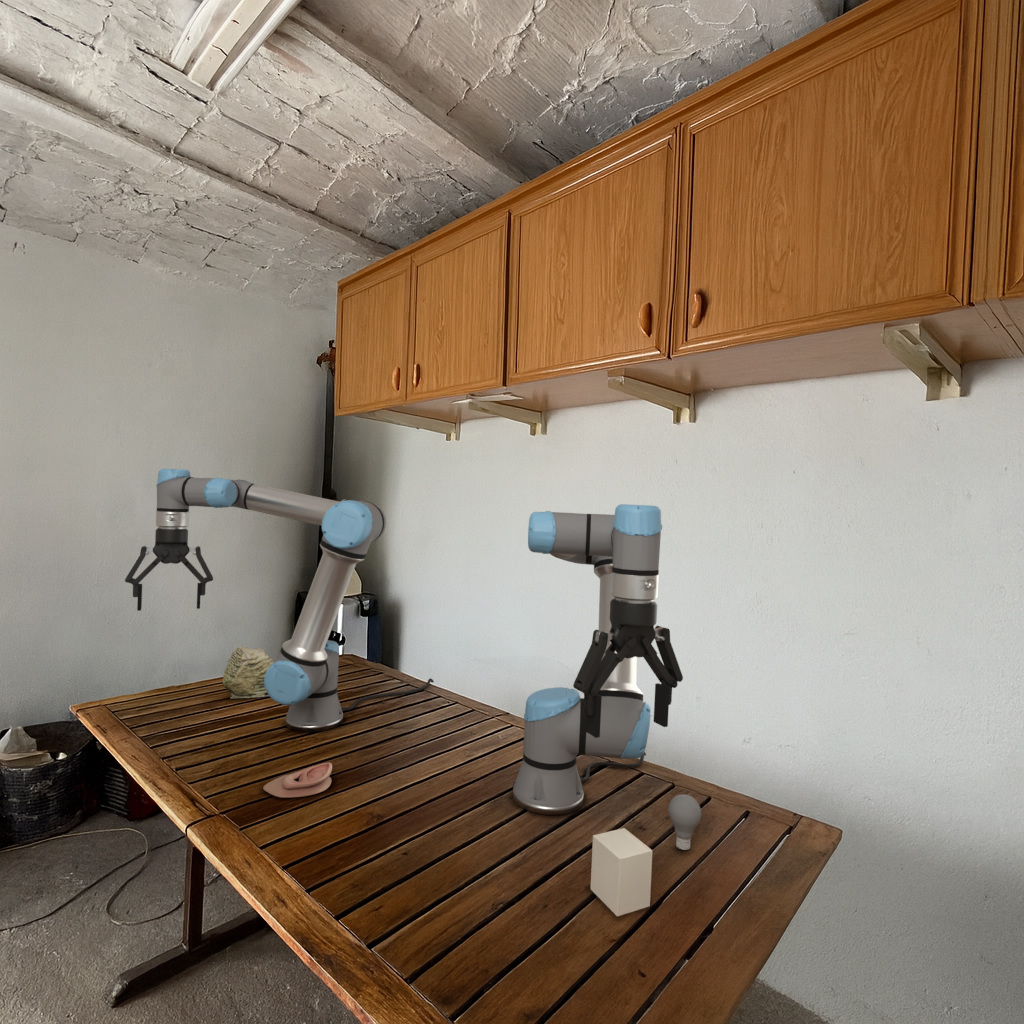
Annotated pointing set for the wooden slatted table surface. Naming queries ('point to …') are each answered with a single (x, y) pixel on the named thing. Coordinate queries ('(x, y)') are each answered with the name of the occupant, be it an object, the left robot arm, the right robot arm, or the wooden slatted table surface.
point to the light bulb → (684, 818)
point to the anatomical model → (301, 782)
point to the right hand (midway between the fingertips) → (627, 729)
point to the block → (621, 871)
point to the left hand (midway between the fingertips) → (169, 608)
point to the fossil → (246, 673)
